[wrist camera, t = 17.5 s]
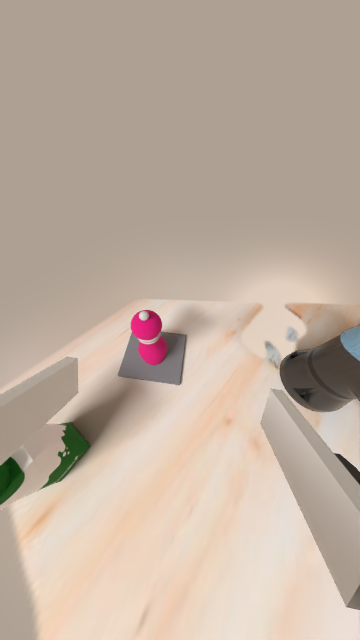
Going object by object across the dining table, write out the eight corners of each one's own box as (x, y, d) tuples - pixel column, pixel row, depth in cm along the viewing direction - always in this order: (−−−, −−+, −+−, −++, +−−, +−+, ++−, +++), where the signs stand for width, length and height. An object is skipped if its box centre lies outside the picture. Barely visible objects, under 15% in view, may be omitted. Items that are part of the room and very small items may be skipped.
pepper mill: (143, 341, 48) (126, 296, 31) (168, 342, 48) (165, 297, 31) (139, 366, 44) (118, 330, 27) (166, 367, 44) (162, 331, 27)
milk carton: (59, 490, 32) (-71, 563, 15) (34, 453, 34) (-100, 480, 18) (97, 444, 36) (28, 461, 19) (71, 415, 38) (-9, 406, 22)
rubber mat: (185, 336, 50) (185, 335, 49) (179, 385, 43) (179, 384, 42) (133, 329, 51) (133, 328, 50) (118, 376, 43) (117, 375, 43)
